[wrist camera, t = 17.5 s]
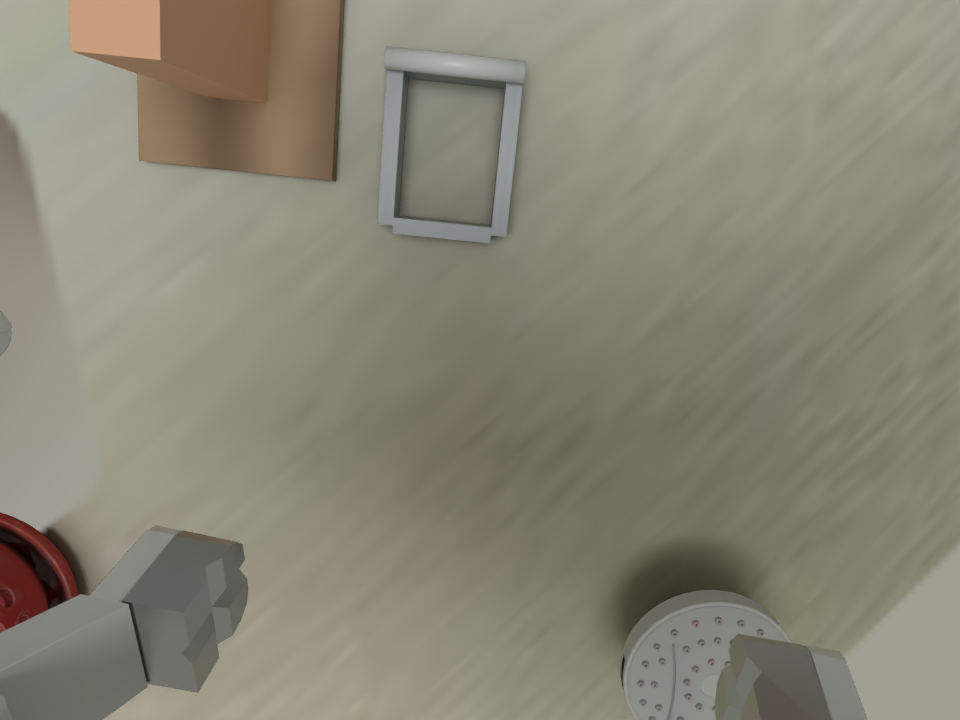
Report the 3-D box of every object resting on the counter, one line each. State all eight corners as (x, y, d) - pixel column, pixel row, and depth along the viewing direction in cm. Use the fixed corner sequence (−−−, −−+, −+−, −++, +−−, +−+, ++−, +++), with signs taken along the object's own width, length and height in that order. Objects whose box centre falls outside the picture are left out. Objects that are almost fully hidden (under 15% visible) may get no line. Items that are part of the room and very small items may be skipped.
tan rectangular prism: (269, -5, 34) (157, -107, 22) (267, 103, 35) (160, 60, 23) (207, -11, 34) (63, -118, 22) (207, 97, 35) (71, 50, 23)
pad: (347, -70, 34) (343, -77, 33) (335, 180, 37) (331, 180, 36) (143, -93, 34) (133, -101, 33) (148, 161, 36) (139, 160, 35)
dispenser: (521, 71, 35) (526, 59, 32) (503, 241, 37) (506, 246, 34) (394, 58, 35) (385, 44, 32) (383, 229, 37) (373, 233, 34)
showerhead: (807, 767, 37) (623, 767, 37) (755, 675, 44) (600, 675, 44) (828, 614, 35) (632, 614, 35) (770, 542, 42) (606, 543, 42)
